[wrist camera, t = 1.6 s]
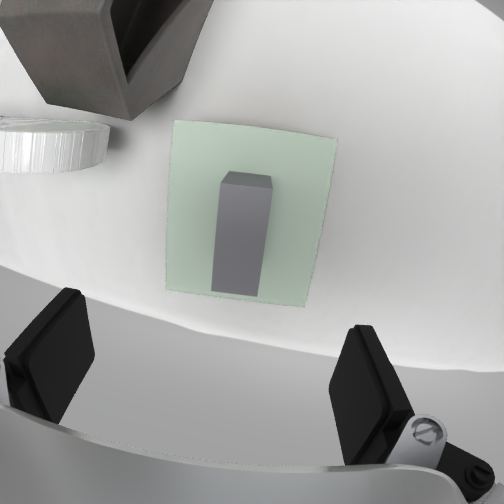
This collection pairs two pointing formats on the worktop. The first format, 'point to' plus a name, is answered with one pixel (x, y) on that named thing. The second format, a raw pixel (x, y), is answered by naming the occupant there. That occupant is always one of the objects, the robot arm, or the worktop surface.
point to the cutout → (51, 145)
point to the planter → (104, 49)
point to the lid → (245, 211)
